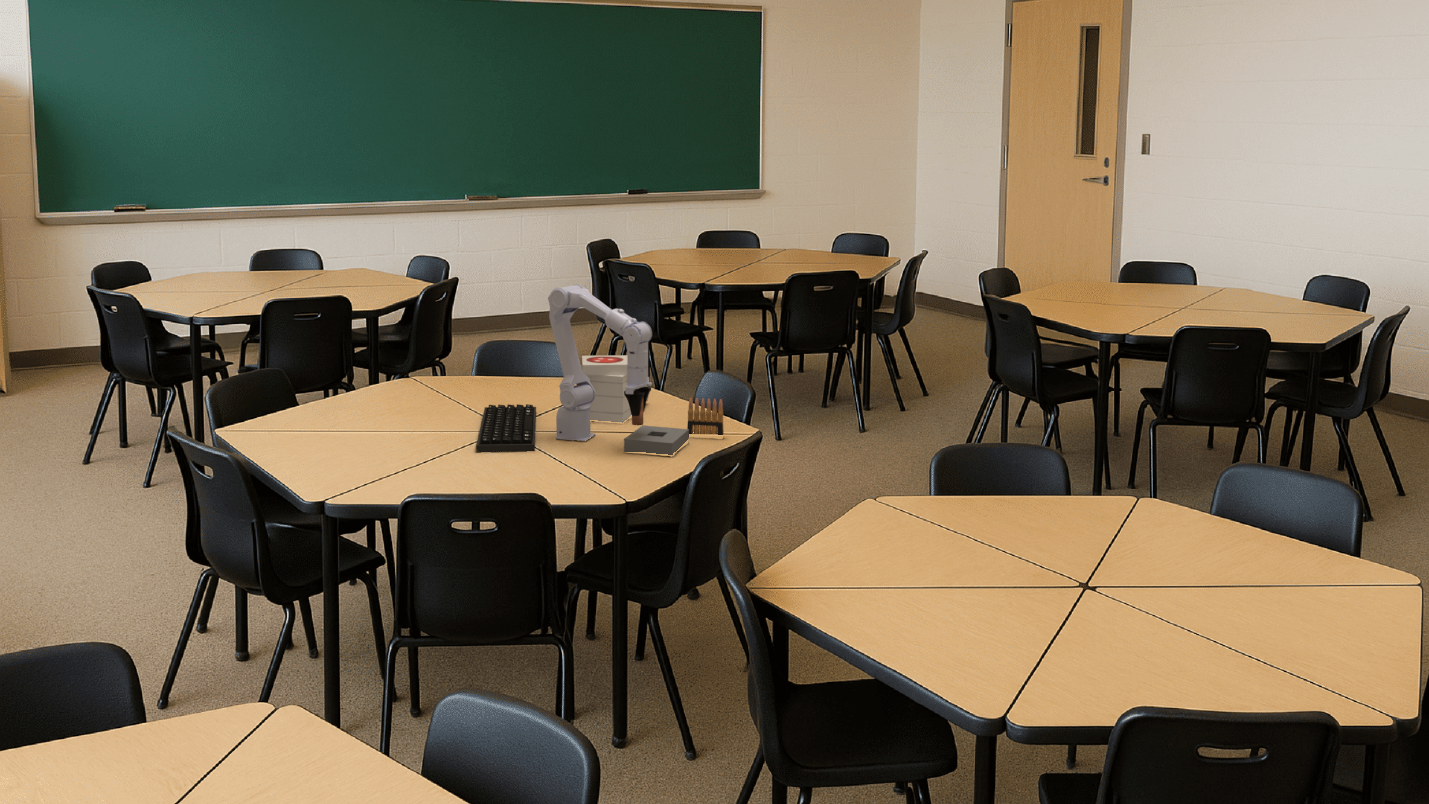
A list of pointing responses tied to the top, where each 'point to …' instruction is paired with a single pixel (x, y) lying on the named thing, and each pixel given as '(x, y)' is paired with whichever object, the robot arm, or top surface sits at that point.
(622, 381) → the pizza boxes
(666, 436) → the socket block
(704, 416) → the ammunition clip
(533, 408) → the computer keyboard
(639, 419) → the peg
